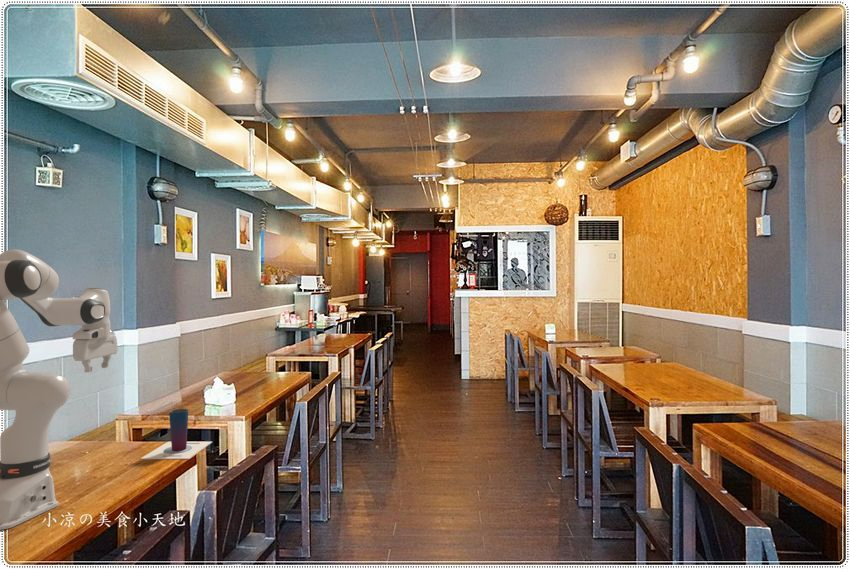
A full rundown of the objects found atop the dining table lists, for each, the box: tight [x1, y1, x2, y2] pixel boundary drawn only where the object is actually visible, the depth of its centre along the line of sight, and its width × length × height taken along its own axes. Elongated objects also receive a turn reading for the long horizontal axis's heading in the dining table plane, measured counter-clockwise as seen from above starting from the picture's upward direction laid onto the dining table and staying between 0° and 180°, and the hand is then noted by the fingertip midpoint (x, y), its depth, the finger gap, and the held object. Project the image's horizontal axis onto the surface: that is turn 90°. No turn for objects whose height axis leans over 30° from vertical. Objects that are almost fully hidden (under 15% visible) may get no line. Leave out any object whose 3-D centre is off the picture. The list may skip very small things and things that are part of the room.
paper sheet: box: [140, 441, 213, 460], centre depth 200 cm, size 20×18×1 cm
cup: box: [168, 407, 190, 451], centre depth 200 cm, size 7×7×15 cm
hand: (96, 369), depth 190 cm, fingers open, 8 cm apart
